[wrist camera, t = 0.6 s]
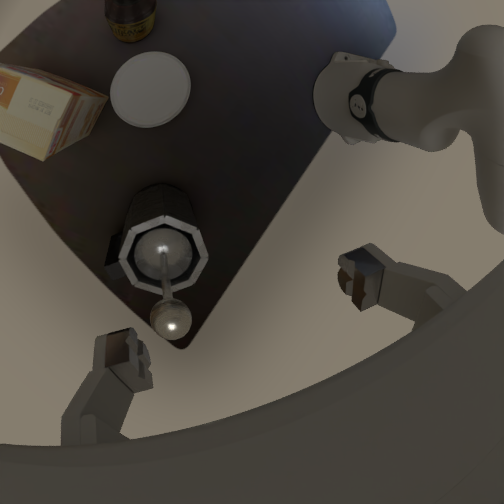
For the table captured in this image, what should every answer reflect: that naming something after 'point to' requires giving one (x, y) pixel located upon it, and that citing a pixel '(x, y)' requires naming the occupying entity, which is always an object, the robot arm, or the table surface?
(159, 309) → the plunger
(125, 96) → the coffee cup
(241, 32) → the table surface
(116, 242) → the press pot
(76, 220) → the table surface
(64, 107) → the coffeecake box
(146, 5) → the sauce bottle
